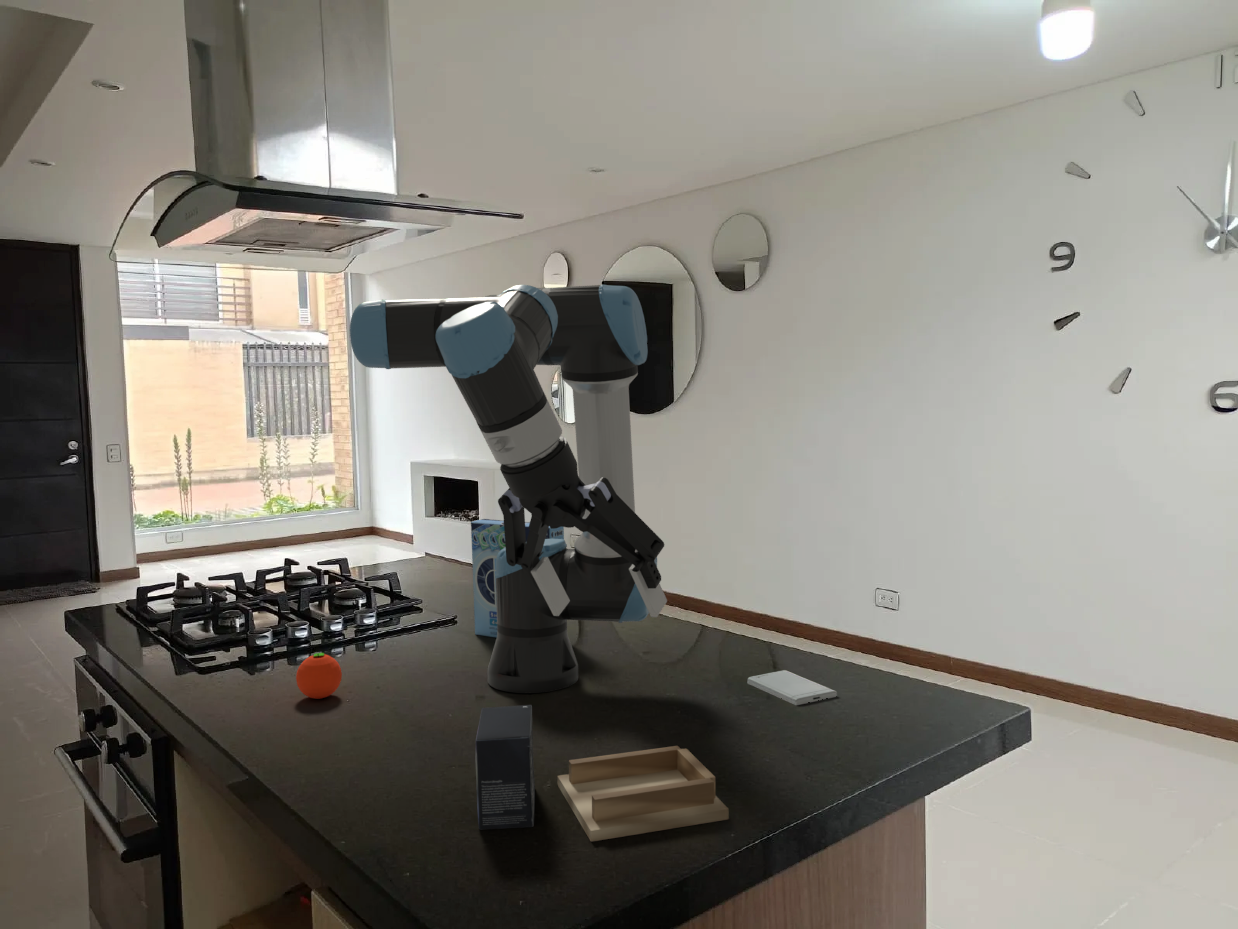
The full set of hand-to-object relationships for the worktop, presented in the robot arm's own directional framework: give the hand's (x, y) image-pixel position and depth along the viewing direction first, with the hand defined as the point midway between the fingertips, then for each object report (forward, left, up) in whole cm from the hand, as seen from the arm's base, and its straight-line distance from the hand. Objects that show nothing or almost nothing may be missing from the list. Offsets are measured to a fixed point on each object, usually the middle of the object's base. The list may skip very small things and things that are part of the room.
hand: (608, 609), depth 104 cm
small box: (-5, -11, -24) cm, 27 cm away
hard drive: (-32, +40, -24) cm, 56 cm away
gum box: (-78, +5, -24) cm, 81 cm away
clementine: (-54, -32, -24) cm, 67 cm away
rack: (-1, +4, -23) cm, 24 cm away
